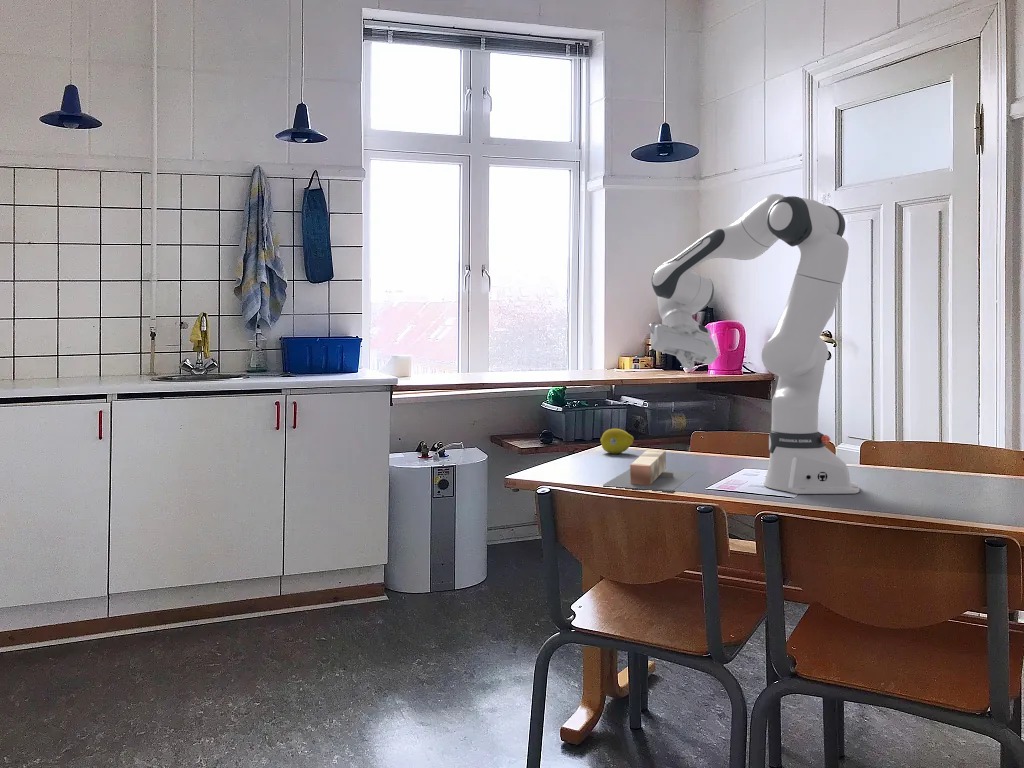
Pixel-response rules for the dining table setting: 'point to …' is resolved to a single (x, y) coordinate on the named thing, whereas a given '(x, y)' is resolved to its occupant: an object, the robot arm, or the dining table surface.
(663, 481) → the mat
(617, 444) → the lemon
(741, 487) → the dining table surface
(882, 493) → the dining table surface
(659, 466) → the birch block
